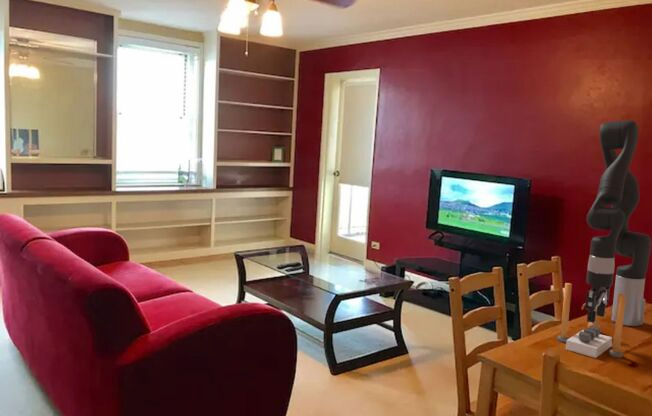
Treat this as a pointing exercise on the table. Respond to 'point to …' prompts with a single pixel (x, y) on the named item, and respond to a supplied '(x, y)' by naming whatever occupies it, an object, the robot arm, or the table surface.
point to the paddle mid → (592, 332)
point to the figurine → (595, 319)
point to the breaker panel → (589, 345)
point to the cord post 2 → (618, 327)
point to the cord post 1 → (565, 313)
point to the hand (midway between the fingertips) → (595, 319)
